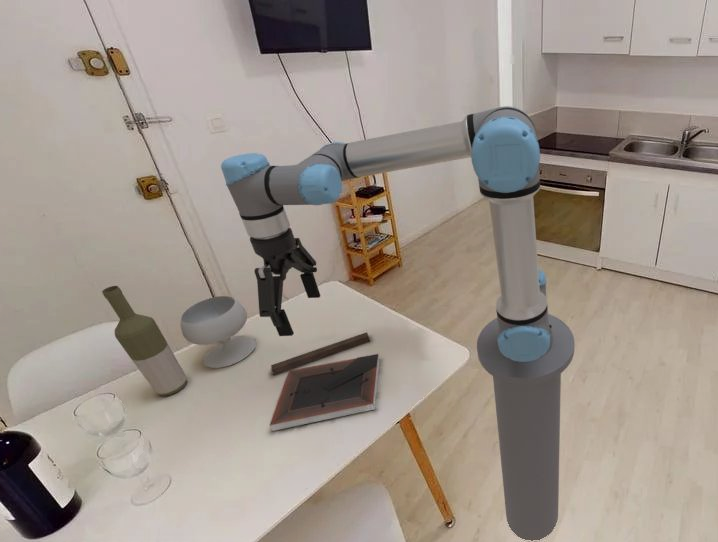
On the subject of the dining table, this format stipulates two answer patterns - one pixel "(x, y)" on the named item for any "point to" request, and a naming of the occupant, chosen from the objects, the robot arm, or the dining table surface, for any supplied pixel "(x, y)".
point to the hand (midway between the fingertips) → (301, 314)
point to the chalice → (218, 330)
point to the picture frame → (327, 392)
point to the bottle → (146, 346)
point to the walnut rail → (319, 353)
